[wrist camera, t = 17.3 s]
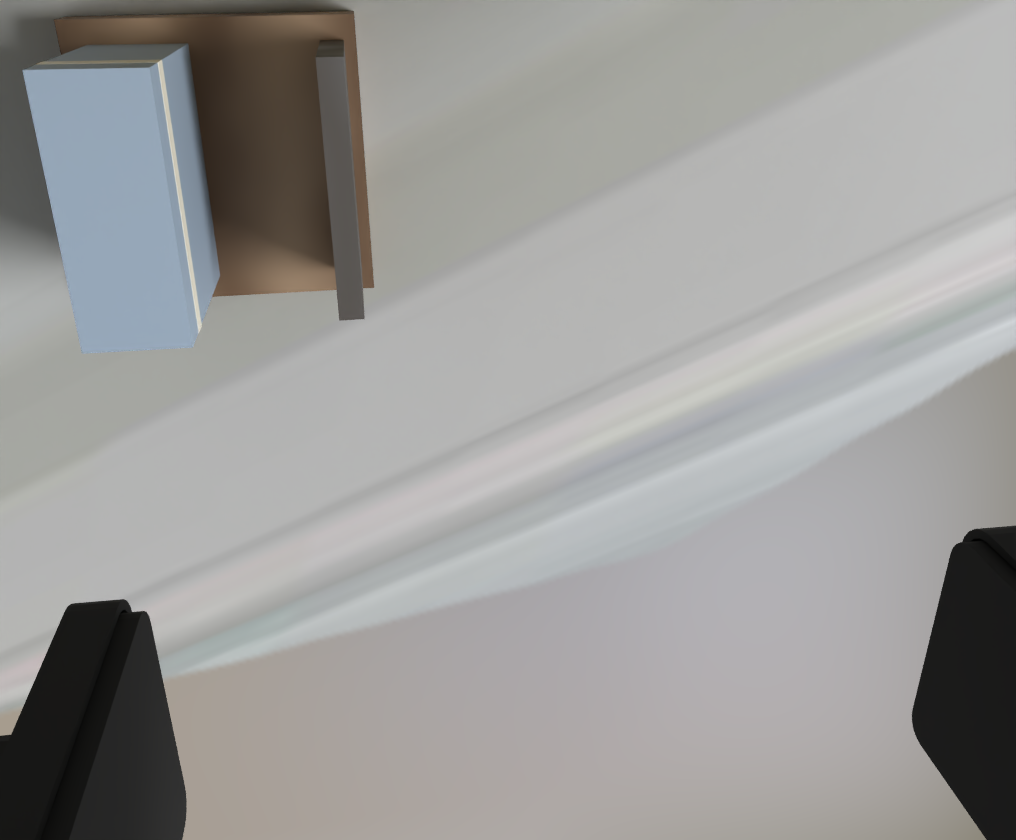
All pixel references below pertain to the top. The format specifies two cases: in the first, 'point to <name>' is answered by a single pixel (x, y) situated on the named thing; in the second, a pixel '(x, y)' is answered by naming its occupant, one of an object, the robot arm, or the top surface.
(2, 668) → the top surface
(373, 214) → the top surface
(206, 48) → the brown l-shaped piece
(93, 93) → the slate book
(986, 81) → the top surface
